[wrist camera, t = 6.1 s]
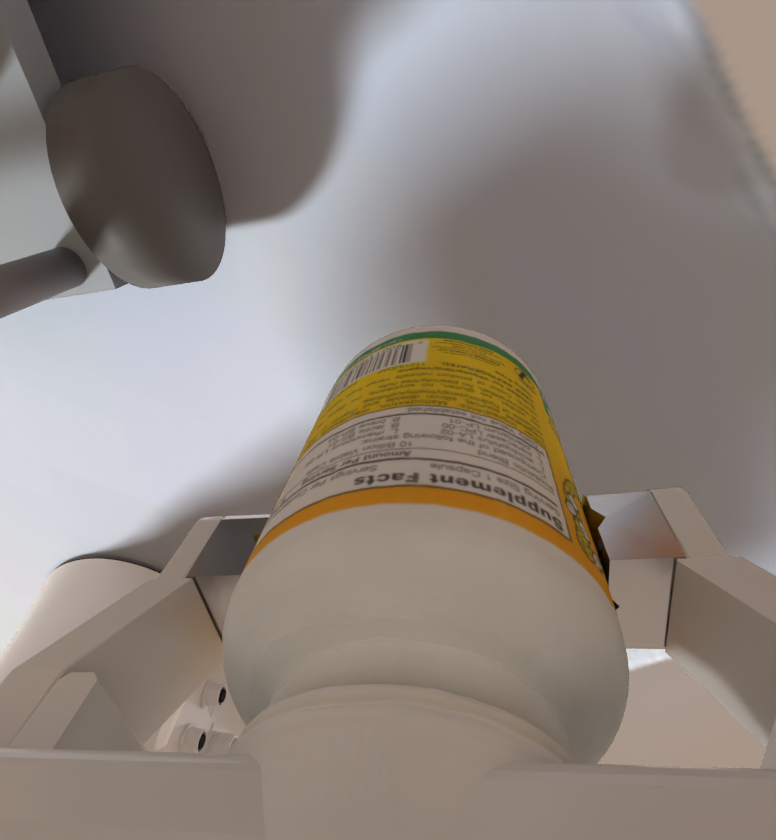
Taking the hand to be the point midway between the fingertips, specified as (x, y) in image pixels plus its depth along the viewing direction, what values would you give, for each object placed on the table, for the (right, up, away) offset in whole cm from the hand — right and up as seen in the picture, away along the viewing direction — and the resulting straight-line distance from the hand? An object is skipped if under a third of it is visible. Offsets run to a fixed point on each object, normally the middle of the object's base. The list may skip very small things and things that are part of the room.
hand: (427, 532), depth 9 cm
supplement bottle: (0, +2, +4) cm, 4 cm away
